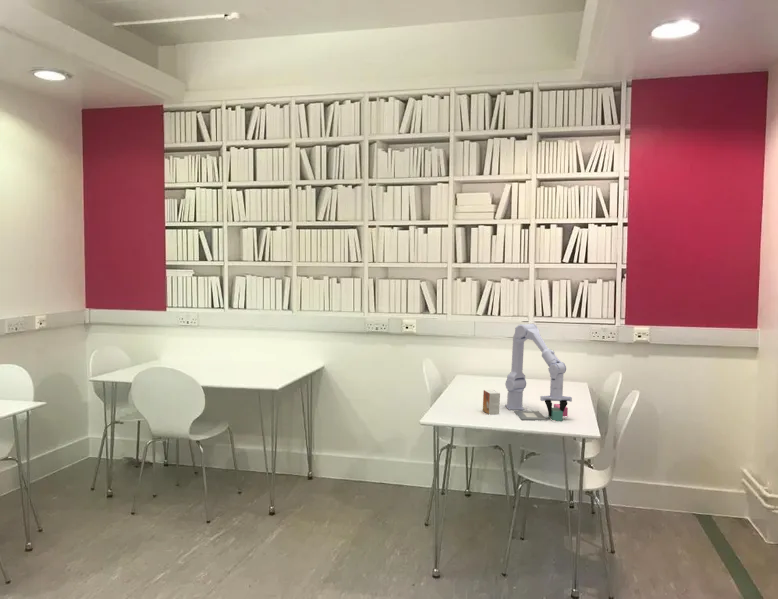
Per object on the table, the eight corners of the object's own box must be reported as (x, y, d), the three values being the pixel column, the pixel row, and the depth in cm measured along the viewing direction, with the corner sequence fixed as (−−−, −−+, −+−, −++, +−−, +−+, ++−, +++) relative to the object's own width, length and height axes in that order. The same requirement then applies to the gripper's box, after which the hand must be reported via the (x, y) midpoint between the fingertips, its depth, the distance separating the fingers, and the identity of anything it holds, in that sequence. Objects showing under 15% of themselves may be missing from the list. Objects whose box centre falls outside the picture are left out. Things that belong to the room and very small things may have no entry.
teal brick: (548, 416, 302) (548, 407, 302) (557, 416, 302) (558, 407, 302) (552, 420, 294) (553, 411, 294) (562, 421, 294) (562, 411, 294)
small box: (482, 410, 311) (483, 389, 310) (493, 410, 312) (493, 389, 311) (488, 414, 303) (489, 393, 302) (499, 414, 304) (500, 392, 304)
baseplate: (514, 412, 310) (514, 410, 310) (538, 412, 310) (538, 411, 310) (521, 420, 294) (521, 418, 294) (547, 420, 294) (547, 419, 294)
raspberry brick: (553, 412, 311) (553, 403, 311) (562, 413, 311) (563, 404, 311) (557, 416, 303) (558, 407, 303) (567, 417, 303) (567, 407, 303)
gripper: (543, 389, 293) (542, 417, 294) (574, 389, 293) (573, 418, 294) (539, 386, 300) (538, 414, 301) (569, 386, 300) (568, 414, 301)
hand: (555, 415), depth 298 cm, fingers closed on teal brick, 5 cm apart
